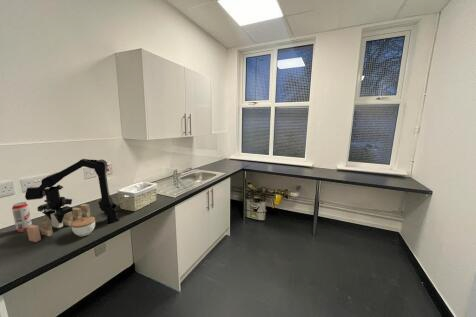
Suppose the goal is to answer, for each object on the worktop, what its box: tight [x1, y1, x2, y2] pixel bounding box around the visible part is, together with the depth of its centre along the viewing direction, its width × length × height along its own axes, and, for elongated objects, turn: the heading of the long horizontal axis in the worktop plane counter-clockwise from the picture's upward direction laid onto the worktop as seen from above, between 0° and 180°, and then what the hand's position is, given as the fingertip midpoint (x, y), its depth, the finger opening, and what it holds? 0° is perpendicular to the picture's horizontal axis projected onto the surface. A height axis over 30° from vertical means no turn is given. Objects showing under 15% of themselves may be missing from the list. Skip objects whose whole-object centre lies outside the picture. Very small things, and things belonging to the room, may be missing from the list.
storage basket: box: [117, 181, 158, 212], centre depth 148 cm, size 24×16×15 cm
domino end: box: [26, 224, 42, 243], centre depth 103 cm, size 2×5×8 cm, turn 76°
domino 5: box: [79, 203, 92, 218], centre depth 129 cm, size 2×5×8 cm, turn 76°
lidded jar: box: [70, 216, 96, 237], centre depth 110 cm, size 11×11×9 cm
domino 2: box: [50, 212, 64, 229], centre depth 113 cm, size 2×5×8 cm, turn 76°
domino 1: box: [39, 219, 54, 237], centre depth 108 cm, size 2×5×8 cm, turn 76°
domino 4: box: [71, 207, 83, 221], centre depth 124 cm, size 2×5×8 cm, turn 76°
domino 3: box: [62, 211, 73, 227], centre depth 119 cm, size 2×5×8 cm, turn 76°
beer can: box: [11, 201, 33, 233], centre depth 112 cm, size 6×6×16 cm
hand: (57, 222), depth 114 cm, fingers closed on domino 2, 5 cm apart
